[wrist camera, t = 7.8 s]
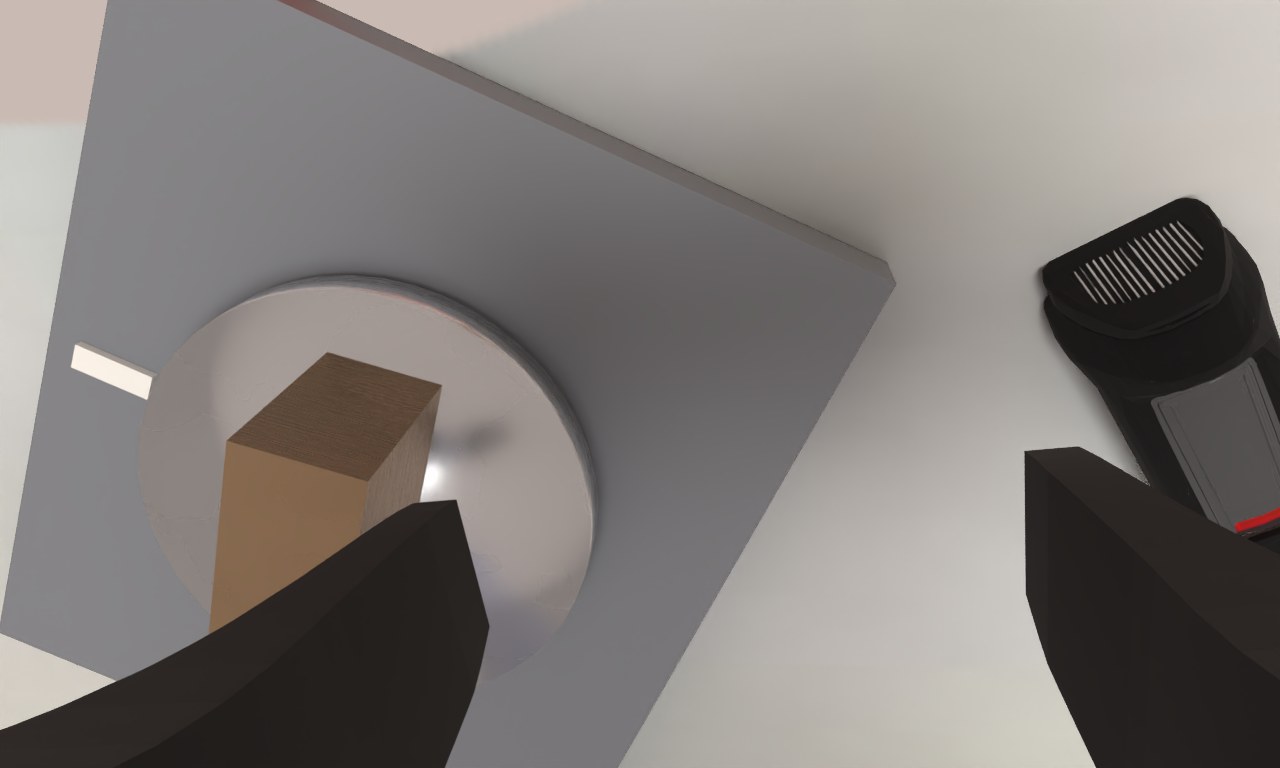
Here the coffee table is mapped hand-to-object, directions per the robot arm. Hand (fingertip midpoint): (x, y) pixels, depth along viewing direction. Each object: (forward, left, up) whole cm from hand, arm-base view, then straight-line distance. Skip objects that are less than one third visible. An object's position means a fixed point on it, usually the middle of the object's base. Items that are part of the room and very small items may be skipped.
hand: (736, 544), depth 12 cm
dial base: (-7, +6, -10) cm, 13 cm away
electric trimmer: (0, -12, -10) cm, 16 cm away
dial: (-7, +6, -8) cm, 12 cm away
